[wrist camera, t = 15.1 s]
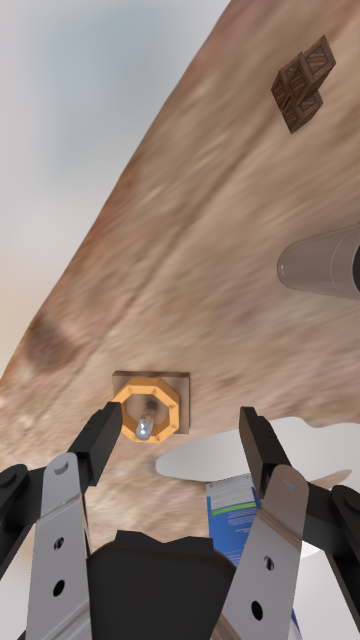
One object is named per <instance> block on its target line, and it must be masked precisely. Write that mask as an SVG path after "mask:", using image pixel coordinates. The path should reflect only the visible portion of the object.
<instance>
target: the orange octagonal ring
mask: <svg viewBox="0 0 360 640" xmlns="http://www.w3.org/2000/svg"><path fill="white" fill-rule="evenodd" d="M132 393H133V394H154V395H155V396H156V397H157V398H159V399H160V400H161V401H162V402H163V403H164V404H166V405H167V406H168V407H169V414H170V417H168V418H167V419H166V420H165V421H163V422H162V423H161V424H160V425H153V427H152V431H151V435H150V438H149V439H148V440H146V441H141V440H139V439H137V438H136V436H135V433H136V430H137V427H138V424H139V423H137V422H136V421H135V420H134V419H132V418H131V417H130V416H129V415H127V414H126V411H125V402H124V401H125V400H126V399H127V398H128V397H129V396H130V395H131V394H132ZM111 402H120V403H121V408H122V416H123V426H122V430H121V432H122V433H123V434H125V435H126V436H127V437H128V438H130V439H131V440H132V441H134V442H149V443H161V442H162V441H163V440H165V439H166V438H167V437H168V436H170V435H171V434H172V433H174V432H175V431H176V430H177V429H179V420H180V409H179V395H178V394H177V393H176V392H175V391H173V390H172V389H171V388H170V387H169V386H168V385H167V384H165V383H164V382H163V381H162V380H161V379H160V378H131V379H130V380H129V381H128V382H127V383H126V384H125V385H124V386H123V387H122V388H121V389H120V390H119V391H118V392H117V393H116V394H115V395H114V397H113V398H112V400H111Z"/></svg>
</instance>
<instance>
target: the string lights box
mask: <svg viewBox="0 0 360 640" xmlns="http://www.w3.org/2000/svg"><path fill="white" fill-rule="evenodd" d="M206 493H207V508H208V522H209V536H210V538H213V545H214V549H216V550H218V551H219V552H221V553H222V554H224V555H225V556H226V557H227V558H228V559H230V560H231V561H232V563H233V564H234V565H235V566H236V567H238V564H239V561H240V558H241V555H242V553H243V550H244V547H245V544H246V541H247V539H248V536H249V533H250V530H251V527H252V524H253V522H254V519H255V516H256V513H257V511H258V509H259V507H261V505H262V504H261V500H260V499H258V497H257V493H256V490H255V486H254V483H253V479H252V477H251V475H250V473H247V474H243V475H240V476H235V477H231V478H227V479H224V480H219V481H215V482H211V483H207V484H206ZM288 640H302V636H301V633H300V630H299V626H298V623H297V620H296V616H295V613H294V610H293V608H292V615H291V622H290V628H289V635H288Z"/></svg>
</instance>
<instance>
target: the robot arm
mask: <svg viewBox="0 0 360 640" xmlns="http://www.w3.org/2000/svg"><path fill="white" fill-rule="evenodd" d="M277 272H278V276H279V278H280V280H281V282H282V283H283V284H284V285H285V286H287V287H289V288H291V289H296V290H301V291H307V292H312V293H318V294H324V295H330V296H336V297H342V298H348V299H354V300H360V224H357V225H353V226H350V227H346V228H343V229H339V230H336V231H332V232H329V233H326V234H322V235H319V236H315V237H311V238H308V239H305V240H301V241H298V242H296V243H293V244H292V245H290V246H289V247H288V248H287V249H286V250H285V251H284V252H283V253H282V255H281V257H280V259H279V262H278V266H277ZM122 426H123V416H122V408H121V403H120V402H111V401H109V402H108V403H107V404H106V406H105V407H104V409H103V410H101V409H99V410H98V411H97V412H96V413H95V414H93V415H92V416H91V418H90V419H89V421H88V422H87V424H86V425H85V426H84V428H83V430H82V431H81V432H80V434H79V435H78V436H77V438H76V439H75V441H74V442H73V444H72V445H71V446H70V448H69V449H68V451H67V452H66V453H64V454H61V455H59V456H57V457H56V458H55V459H53V460H52V461H51V462H50V463H49V464H48V466H46V467H42V468H38V469H35V470H31V471H28V469H27V467H26V465H24V464H17V465H14V466H11V467H9V468H7V469H5V470H4V471H2V472H1V473H0V580H1V578H2V577H3V575H4V573H5V572H6V570H7V568H8V566H9V565H10V563H11V561H12V560H13V558H14V556H15V555H16V553H17V551H18V550H19V548H20V546H21V544H22V543H23V541H24V539H25V538H26V536H27V534H28V533H29V531H30V529H31V527H32V526H33V524H34V523H36V529H35V539H34V550H33V560H32V572H31V582H30V593H29V604H28V605H29V606H28V616H27V626H26V630H25V631H24V632H23V633H22V634H21V636H20V637H19V638H18V639H17V640H288V635H289V628H290V622H291V615H292V608H293V601H294V594H295V588H296V581H297V575H298V568H299V561H300V555H301V548H302V540H303V541H305V542H307V543H309V544H311V545H313V546H315V547H317V548H319V549H321V550H323V551H324V552H325V554H326V556H327V559H328V561H329V563H330V566H331V568H332V570H333V573H334V575H335V576H336V579H337V582H338V584H339V587H340V589H341V591H342V594H343V596H344V598H345V600H346V603H347V605H348V607H349V610H350V612H351V614H352V617H353V619H354V621H355V624H356V626H357V628H358V631H359V633H360V494H359V493H358V492H356V491H355V490H353V489H351V488H349V487H347V486H344V485H335V486H334V487H333V488H332V490H331V491H330V490H327V489H324V488H322V487H319V486H316V485H314V484H311V483H309V482H308V481H306V480H305V478H304V477H303V476H302V475H301V474H300V473H299V472H298V471H297V470H296V469H294V468H293V467H292V465H291V464H290V461H289V460H288V458H287V456H286V454H285V452H284V450H283V448H282V446H281V444H280V442H279V440H278V439H277V436H276V434H275V433H274V430H273V428H272V426H271V424H270V423H269V422H268V421H267V420H266V419H265V418H264V417H263V416H257V413H256V411H255V409H254V407H243V406H241V408H240V419H239V433H240V438H241V441H242V445H243V448H244V452H245V455H246V459H247V462H248V466H249V469H250V472H251V476H252V479H253V483H254V486H255V490H256V493H257V497H258V499H263V502H262V505H261V507H259V509H258V511H257V513H256V516H255V519H254V522H253V524H252V527H251V530H250V533H249V536H248V539H247V541H246V544H245V547H244V550H243V553H242V555H241V558H240V561H239V564H238V567H236V566H235V565H234V564H233V563H232V561H231V560H230V559H228V558H227V557H226V556H225V555H224V554H222V553H221V552H219V551H218V550H216V549H214V545H213V538H204V537H192V536H188V537H184V538H181V539H178V540H174V541H171V542H167V543H161V542H159V541H157V540H155V539H153V538H151V537H149V536H147V535H145V534H143V533H141V532H135V531H123V530H118V531H117V534H116V537H115V540H114V541H111V542H109V543H107V544H105V545H103V546H102V547H100V548H99V549H97V550H96V551H95V552H92V546H91V540H90V533H89V524H88V516H87V508H86V499H85V492H86V490H87V488H88V486H96V485H97V483H98V481H99V479H100V476H101V474H102V472H103V470H104V468H105V465H106V463H107V461H108V459H109V456H110V454H111V452H112V450H113V448H114V445H115V443H116V441H117V439H118V437H119V434H120V432H121V430H122Z"/></svg>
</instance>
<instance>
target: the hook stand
mask: <svg viewBox="0 0 360 640" xmlns="http://www.w3.org/2000/svg"><path fill="white" fill-rule="evenodd" d="M131 378H160V379H161V380H162V381H163V382H164V383H165V384H167V385H168V386H169V387H170V388H171V389H172V390H173V391H175V392H176V393H177V394H178V395H179V409H180V420H179V429H177V430H176V431H175V432H174V433H172V434H189V373H170V372H125V371H115V372H114V374H113V375H112V382H113V390H114V395H115V394H116V393H117V392H118V391H119V390H120V389H121V388H122V387H123V386H124V385H125V384H126V383H127V382H128V381H129V380H130V379H131ZM124 402H125V411H126V414H127V415H129V416H130V417H131V418H132V419H134V420H135V421H136V422H137V423H139V424H138V427H137V430H136V433H135V436H136V438H137V439H139V440H141V441H146V440H148V439H149V438H150V435H151V431H152V427H153V425H160V424H161V423H162V422H163V421H165V420H166V419H167V418H168V417H170V414H169V407H168V406H167V405H166V404H164V403H163V402H162V401H161V400H160V399H159V398H157V397H156V396H155V395H154V394H133V393H132V394H131V395H130V396H129V397H128V398H127V399H126V400H125V401H124Z"/></svg>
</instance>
